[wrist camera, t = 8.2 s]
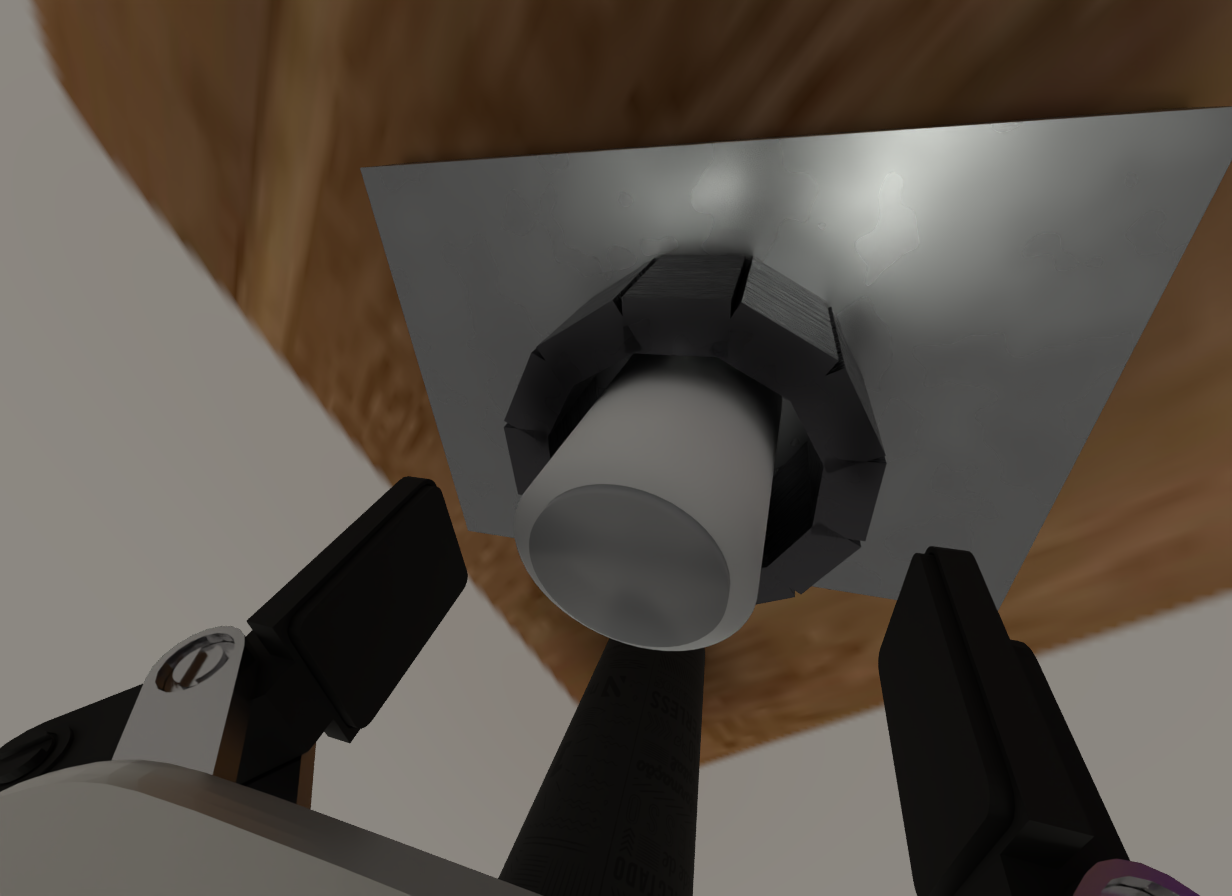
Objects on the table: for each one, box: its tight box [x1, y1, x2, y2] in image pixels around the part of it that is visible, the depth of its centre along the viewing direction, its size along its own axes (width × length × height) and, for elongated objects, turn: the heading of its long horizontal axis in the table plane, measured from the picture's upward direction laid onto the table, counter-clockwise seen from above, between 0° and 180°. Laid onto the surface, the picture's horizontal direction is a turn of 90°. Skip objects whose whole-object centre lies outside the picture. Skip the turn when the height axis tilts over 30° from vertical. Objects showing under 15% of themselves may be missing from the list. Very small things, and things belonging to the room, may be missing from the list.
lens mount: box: [360, 106, 1232, 611], centre depth 15 cm, size 14×20×6 cm
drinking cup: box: [498, 638, 705, 896], centre depth 18 cm, size 8×8×20 cm
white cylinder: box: [514, 353, 782, 651], centre depth 12 cm, size 5×5×7 cm
